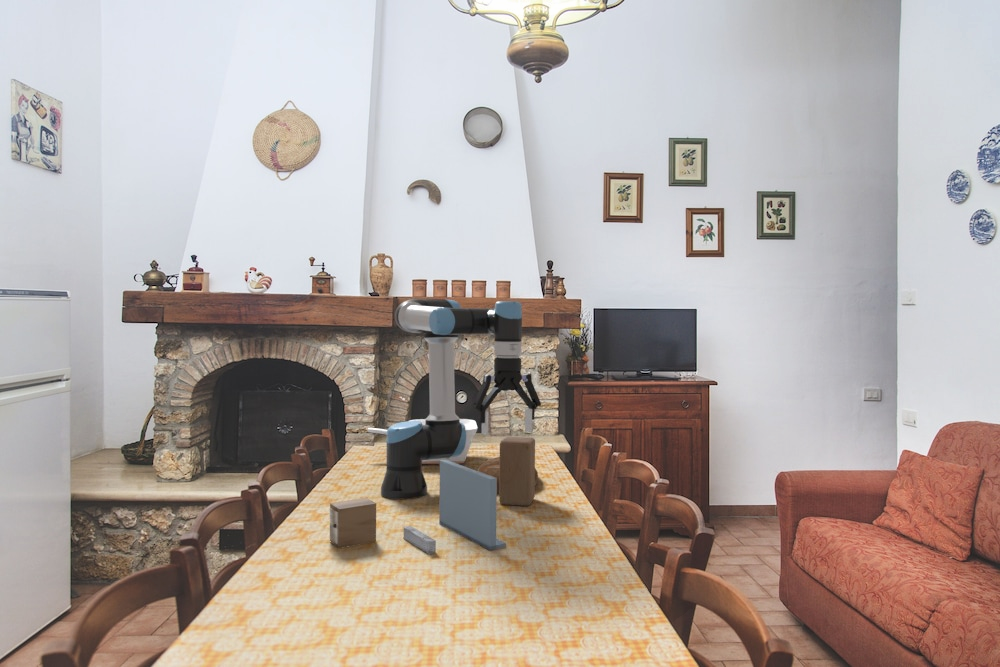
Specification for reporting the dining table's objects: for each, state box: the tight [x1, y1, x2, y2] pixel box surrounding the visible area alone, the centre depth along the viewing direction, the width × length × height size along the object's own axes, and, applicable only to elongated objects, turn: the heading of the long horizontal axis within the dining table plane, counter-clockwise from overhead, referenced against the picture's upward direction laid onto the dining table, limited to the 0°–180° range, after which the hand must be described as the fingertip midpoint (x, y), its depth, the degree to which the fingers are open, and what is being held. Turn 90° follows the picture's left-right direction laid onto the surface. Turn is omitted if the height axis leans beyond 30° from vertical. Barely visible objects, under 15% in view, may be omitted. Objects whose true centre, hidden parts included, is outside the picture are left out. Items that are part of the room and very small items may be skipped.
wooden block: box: [498, 436, 536, 507], centre depth 212 cm, size 10×10×20 cm
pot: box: [366, 418, 479, 465], centre depth 272 cm, size 29×44×15 cm, turn 95°
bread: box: [476, 456, 539, 495], centre depth 238 cm, size 22×37×8 cm, turn 0°
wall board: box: [438, 460, 507, 551], centre depth 179 cm, size 26×5×18 cm, turn 34°
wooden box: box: [329, 497, 377, 549], centre depth 173 cm, size 6×11×10 cm, turn 124°
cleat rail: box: [403, 525, 437, 555], centre depth 170 cm, size 14×2×3 cm, turn 34°
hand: (506, 433), depth 185 cm, fingers open, 13 cm apart
